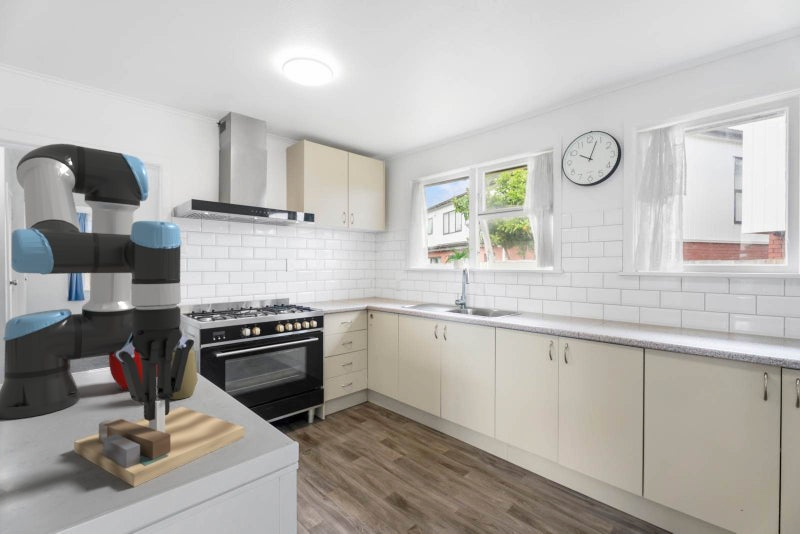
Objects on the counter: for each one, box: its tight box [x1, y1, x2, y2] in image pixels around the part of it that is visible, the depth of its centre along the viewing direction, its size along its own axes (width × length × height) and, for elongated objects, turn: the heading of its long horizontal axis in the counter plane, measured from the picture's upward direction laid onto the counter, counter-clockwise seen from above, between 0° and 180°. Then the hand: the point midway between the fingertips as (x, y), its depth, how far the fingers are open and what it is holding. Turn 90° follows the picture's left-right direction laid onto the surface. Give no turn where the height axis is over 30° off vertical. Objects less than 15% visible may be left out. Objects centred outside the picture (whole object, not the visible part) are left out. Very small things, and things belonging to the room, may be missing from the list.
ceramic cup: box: [108, 350, 157, 390], centre depth 109 cm, size 13×17×10 cm
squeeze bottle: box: [170, 328, 198, 400], centre depth 100 cm, size 8×8×18 cm
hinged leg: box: [98, 417, 170, 459], centre depth 68 cm, size 17×4×3 cm, turn 64°
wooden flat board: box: [73, 406, 245, 488], centre depth 73 cm, size 22×20×5 cm
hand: (156, 435), depth 68 cm, fingers closed
